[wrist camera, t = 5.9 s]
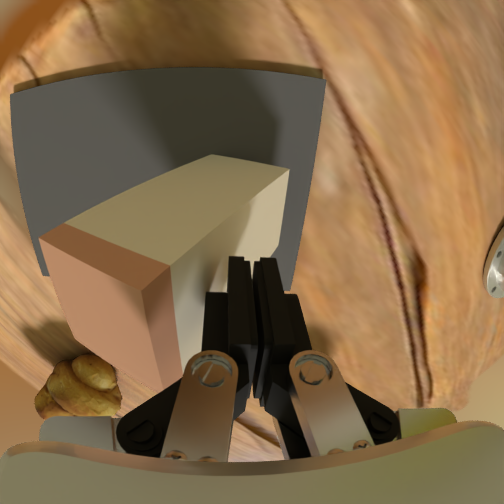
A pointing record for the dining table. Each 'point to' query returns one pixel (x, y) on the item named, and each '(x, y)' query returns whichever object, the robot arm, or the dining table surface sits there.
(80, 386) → the bread roll
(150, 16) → the dining table surface
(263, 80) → the rubber mat
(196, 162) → the cream block
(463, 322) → the dining table surface
